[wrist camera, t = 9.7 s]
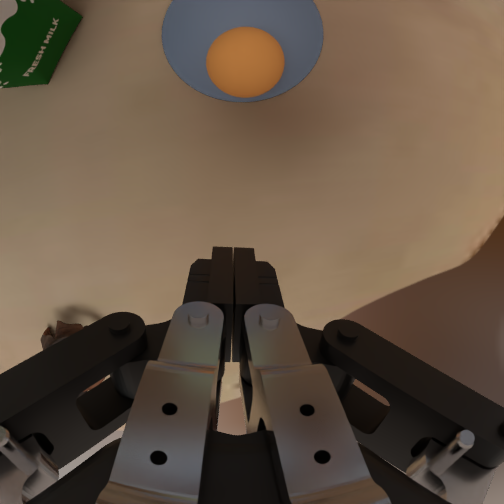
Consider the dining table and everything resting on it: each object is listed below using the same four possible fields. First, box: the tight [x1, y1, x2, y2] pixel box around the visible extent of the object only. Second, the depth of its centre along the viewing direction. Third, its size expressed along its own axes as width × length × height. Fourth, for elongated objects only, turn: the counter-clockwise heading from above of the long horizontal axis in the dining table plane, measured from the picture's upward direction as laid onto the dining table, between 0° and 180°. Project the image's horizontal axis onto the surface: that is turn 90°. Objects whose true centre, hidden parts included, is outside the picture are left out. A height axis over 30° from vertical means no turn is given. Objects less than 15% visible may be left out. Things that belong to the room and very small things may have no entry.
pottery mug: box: [41, 321, 105, 398], centre depth 30 cm, size 12×10×8 cm
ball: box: [206, 27, 285, 98], centre depth 18 cm, size 6×6×6 cm
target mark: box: [162, 0, 323, 102], centre depth 19 cm, size 13×13×1 cm
